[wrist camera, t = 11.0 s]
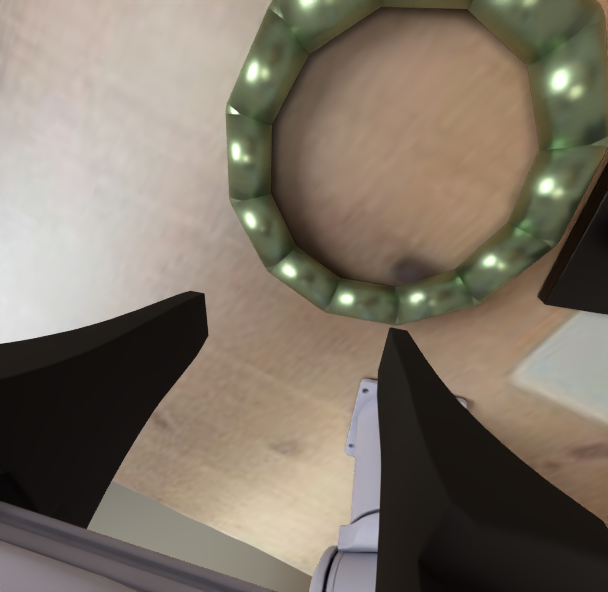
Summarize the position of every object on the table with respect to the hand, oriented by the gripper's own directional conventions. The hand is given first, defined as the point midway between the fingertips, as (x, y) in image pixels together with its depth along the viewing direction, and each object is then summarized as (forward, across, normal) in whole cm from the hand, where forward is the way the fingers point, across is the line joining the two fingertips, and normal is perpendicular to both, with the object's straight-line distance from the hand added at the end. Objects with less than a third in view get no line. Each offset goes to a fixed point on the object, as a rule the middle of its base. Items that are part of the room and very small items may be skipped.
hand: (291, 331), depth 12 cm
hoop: (+8, -3, -5) cm, 10 cm away
